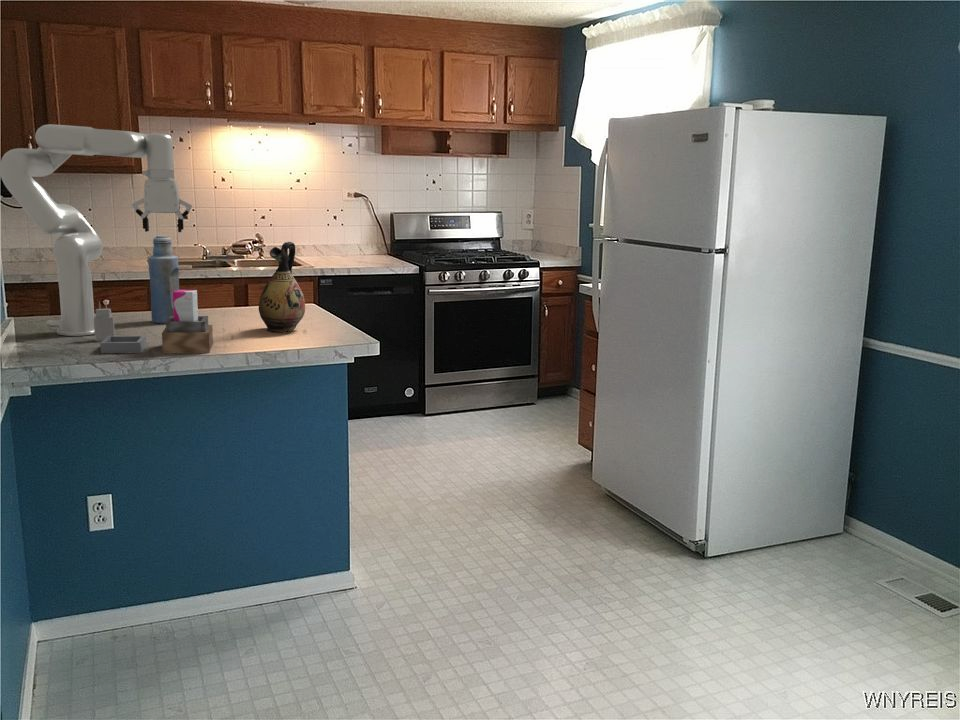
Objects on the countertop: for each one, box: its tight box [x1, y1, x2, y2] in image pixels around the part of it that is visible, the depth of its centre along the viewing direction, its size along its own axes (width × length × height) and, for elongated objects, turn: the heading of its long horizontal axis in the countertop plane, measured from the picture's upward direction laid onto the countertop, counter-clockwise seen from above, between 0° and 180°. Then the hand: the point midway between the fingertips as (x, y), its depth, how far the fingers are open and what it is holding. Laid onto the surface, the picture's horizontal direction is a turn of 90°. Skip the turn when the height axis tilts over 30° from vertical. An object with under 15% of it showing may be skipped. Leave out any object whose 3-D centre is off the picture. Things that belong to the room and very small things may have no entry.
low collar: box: [99, 335, 148, 354], centre depth 241 cm, size 11×11×3 cm
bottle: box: [147, 235, 180, 325], centre depth 284 cm, size 10×10×30 cm
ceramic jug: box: [258, 241, 306, 333], centre depth 277 cm, size 17×15×30 cm
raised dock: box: [161, 315, 214, 354], centre depth 245 cm, size 13×13×9 cm
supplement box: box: [173, 289, 199, 321], centre depth 243 cm, size 6×6×12 cm
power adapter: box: [94, 301, 116, 342], centre depth 252 cm, size 3×5×12 cm, turn 126°
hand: (163, 231), depth 254 cm, fingers open, 9 cm apart
